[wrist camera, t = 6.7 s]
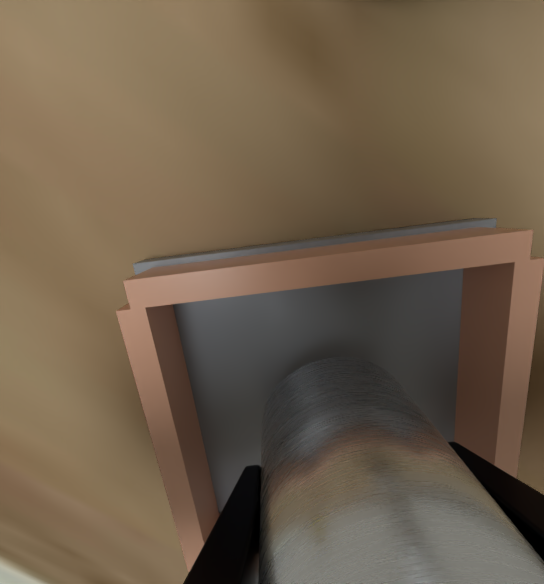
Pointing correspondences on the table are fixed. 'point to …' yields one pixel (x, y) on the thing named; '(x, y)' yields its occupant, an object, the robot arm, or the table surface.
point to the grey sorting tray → (328, 342)
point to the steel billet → (373, 490)
